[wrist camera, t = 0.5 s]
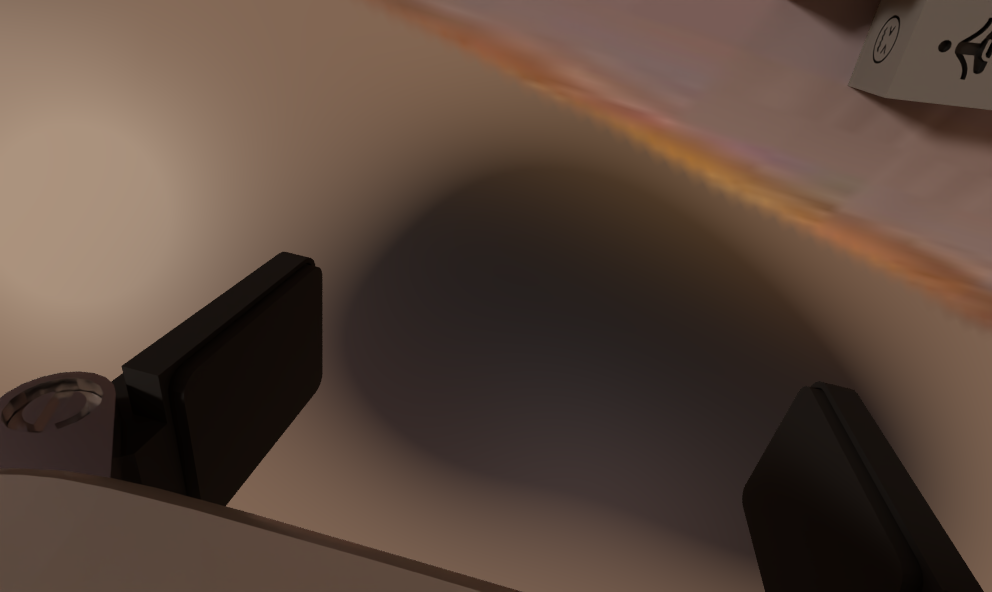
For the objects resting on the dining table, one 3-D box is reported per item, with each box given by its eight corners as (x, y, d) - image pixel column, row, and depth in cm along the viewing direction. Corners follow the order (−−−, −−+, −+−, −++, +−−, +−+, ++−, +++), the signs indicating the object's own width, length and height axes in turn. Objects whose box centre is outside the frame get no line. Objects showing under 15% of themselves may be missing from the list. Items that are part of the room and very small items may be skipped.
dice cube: (941, 96, 30) (995, 110, 26) (847, 85, 31) (885, 98, 26) (988, -5, 28) (1057, -8, 23) (885, -14, 28) (934, -19, 24)
